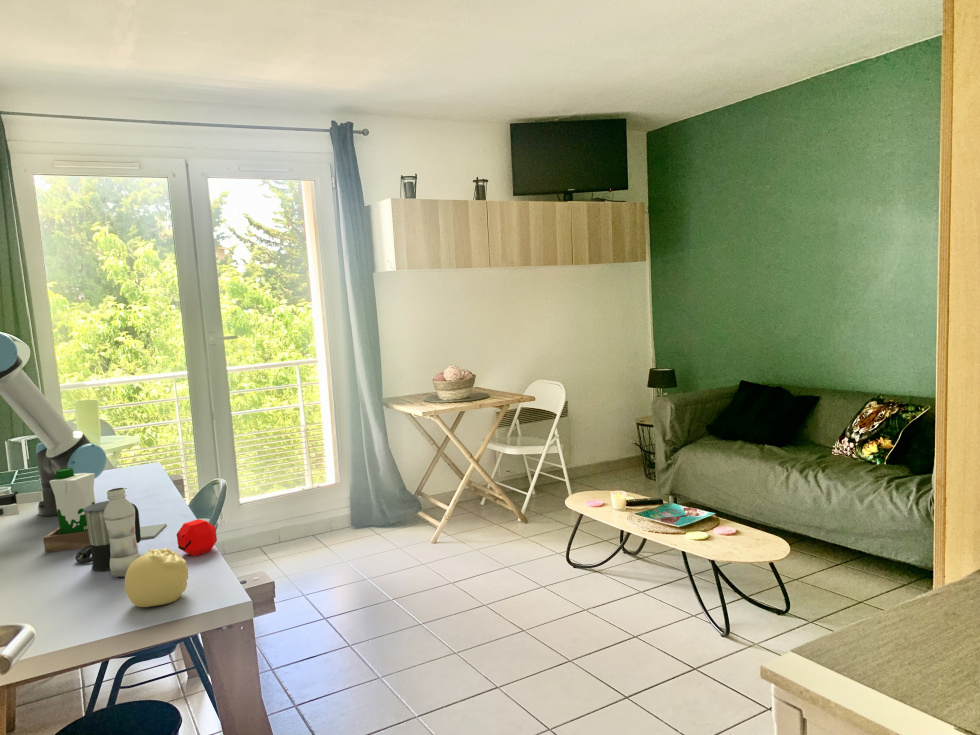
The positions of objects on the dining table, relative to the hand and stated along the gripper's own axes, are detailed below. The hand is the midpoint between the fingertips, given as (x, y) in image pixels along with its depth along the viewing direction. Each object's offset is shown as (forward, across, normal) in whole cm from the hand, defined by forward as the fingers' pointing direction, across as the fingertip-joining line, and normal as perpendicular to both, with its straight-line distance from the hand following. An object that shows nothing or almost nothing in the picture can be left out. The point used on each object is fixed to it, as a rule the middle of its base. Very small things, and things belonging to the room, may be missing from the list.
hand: (30, 502), depth 196 cm
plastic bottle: (+34, +34, -12) cm, 50 cm away
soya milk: (+11, 0, -12) cm, 17 cm away
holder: (+11, 0, -12) cm, 17 cm away
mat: (+26, 0, -12) cm, 29 cm away
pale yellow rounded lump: (+47, +54, -13) cm, 73 cm away
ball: (+48, +24, -12) cm, 55 cm away
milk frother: (+25, +22, -12) cm, 35 cm away
